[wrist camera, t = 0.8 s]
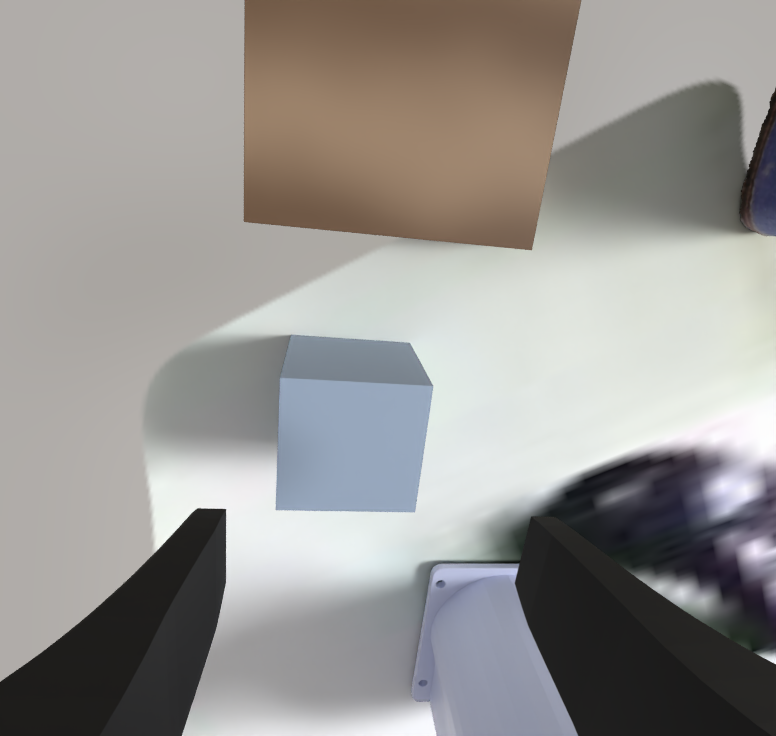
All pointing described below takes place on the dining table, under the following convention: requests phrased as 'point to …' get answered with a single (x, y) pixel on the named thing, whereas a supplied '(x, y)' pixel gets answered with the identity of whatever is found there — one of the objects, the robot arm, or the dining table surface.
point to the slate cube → (351, 425)
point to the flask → (762, 180)
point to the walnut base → (404, 115)
